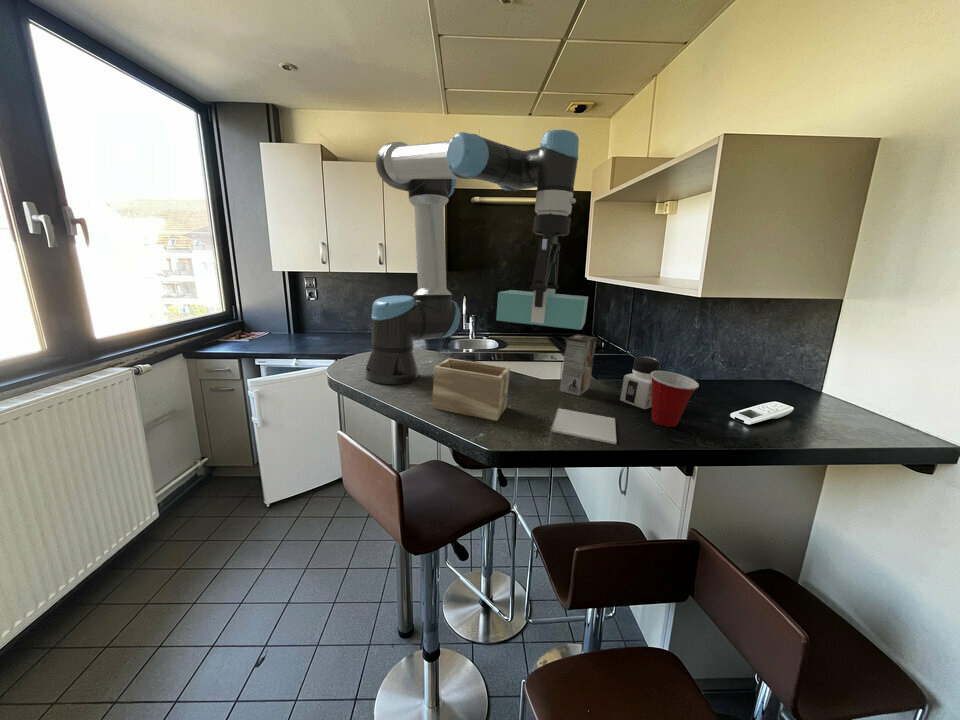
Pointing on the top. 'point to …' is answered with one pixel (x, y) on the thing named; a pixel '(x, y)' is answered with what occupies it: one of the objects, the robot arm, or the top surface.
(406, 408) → the top surface
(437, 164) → the robot arm
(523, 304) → the lid
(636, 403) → the container
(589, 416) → the mat
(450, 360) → the box
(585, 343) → the coffee box
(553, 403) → the top surface
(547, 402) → the top surface
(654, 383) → the plastic cup
